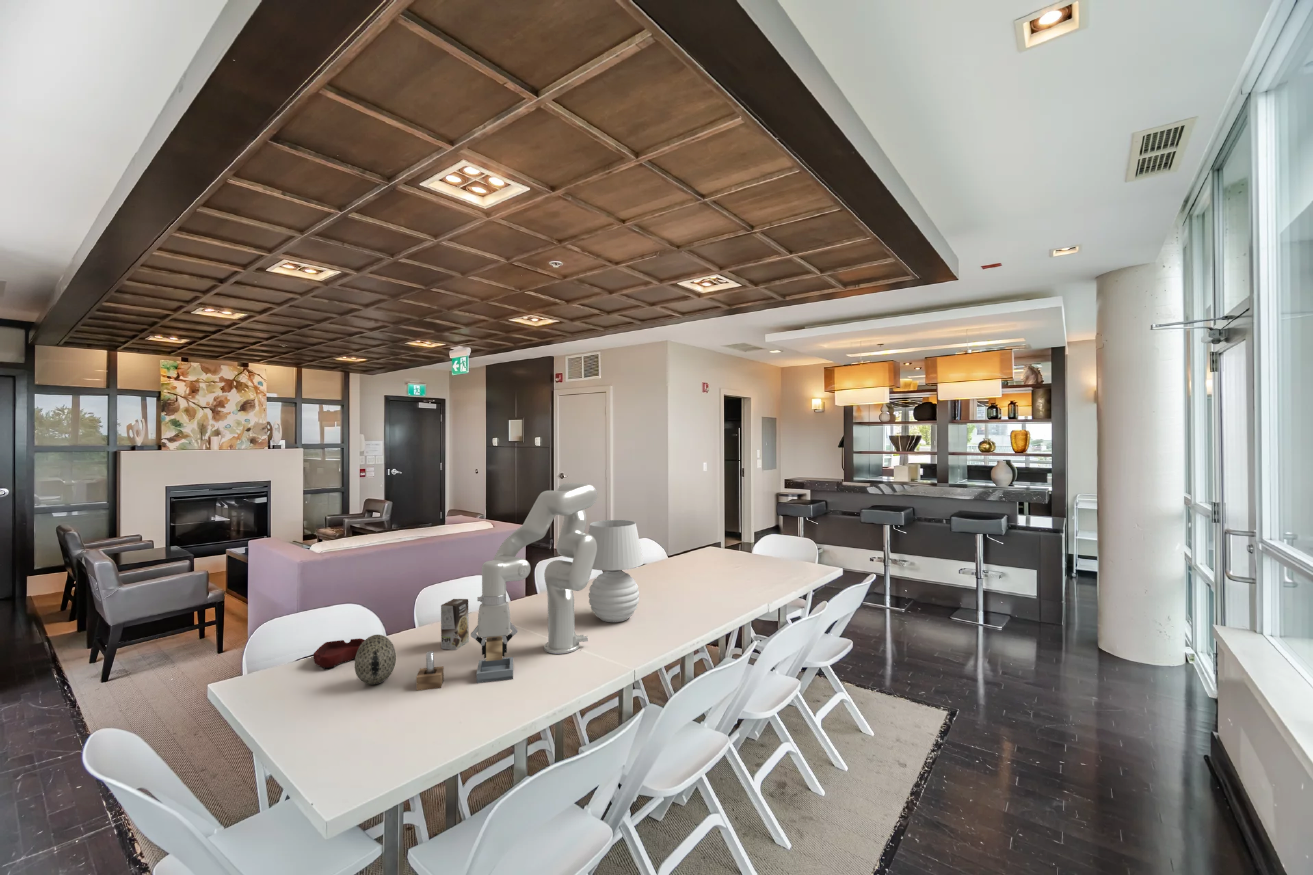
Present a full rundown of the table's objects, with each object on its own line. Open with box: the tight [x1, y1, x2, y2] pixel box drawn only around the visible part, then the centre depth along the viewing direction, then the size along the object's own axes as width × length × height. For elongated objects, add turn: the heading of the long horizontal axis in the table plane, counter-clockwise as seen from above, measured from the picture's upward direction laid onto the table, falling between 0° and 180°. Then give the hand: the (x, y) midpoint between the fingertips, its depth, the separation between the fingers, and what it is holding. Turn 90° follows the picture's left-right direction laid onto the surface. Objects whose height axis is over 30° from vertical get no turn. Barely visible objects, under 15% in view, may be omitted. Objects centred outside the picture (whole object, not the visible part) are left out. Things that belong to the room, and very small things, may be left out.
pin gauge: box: [425, 650, 435, 674], centre depth 179 cm, size 2×2×10 cm
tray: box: [476, 656, 514, 684], centre depth 186 cm, size 11×11×3 cm
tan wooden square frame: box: [415, 665, 445, 692], centre depth 179 cm, size 7×7×4 cm
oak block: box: [485, 636, 504, 661], centre depth 186 cm, size 5×5×6 cm
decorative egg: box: [354, 634, 397, 685], centre depth 181 cm, size 12×12×15 cm
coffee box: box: [440, 598, 470, 651], centre depth 213 cm, size 9×6×16 cm
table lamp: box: [587, 519, 645, 623], centre depth 241 cm, size 25×25×40 cm
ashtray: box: [312, 638, 366, 671], centre depth 201 cm, size 18×16×5 cm
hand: (494, 655), depth 186 cm, fingers closed on oak block, 5 cm apart
